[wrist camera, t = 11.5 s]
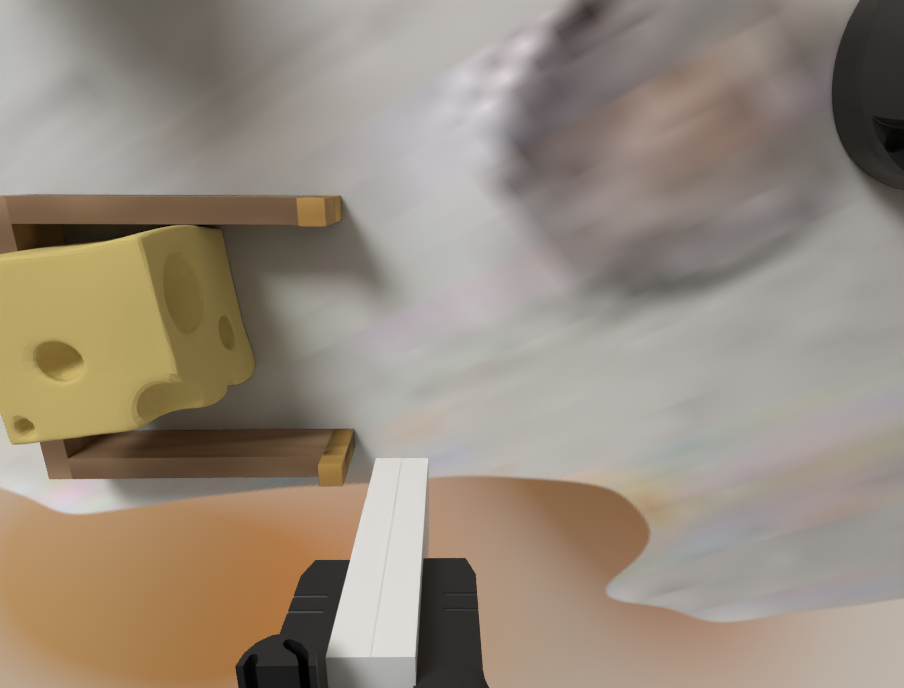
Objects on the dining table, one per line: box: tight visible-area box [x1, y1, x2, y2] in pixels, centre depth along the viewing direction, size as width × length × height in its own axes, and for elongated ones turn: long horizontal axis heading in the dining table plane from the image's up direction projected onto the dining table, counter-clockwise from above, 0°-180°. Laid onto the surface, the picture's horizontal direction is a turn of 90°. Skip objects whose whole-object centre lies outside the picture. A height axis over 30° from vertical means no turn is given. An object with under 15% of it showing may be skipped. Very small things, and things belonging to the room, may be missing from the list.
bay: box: [0, 195, 355, 486], centre depth 33 cm, size 18×20×5 cm
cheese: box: [0, 225, 255, 445], centre depth 31 cm, size 10×11×10 cm
